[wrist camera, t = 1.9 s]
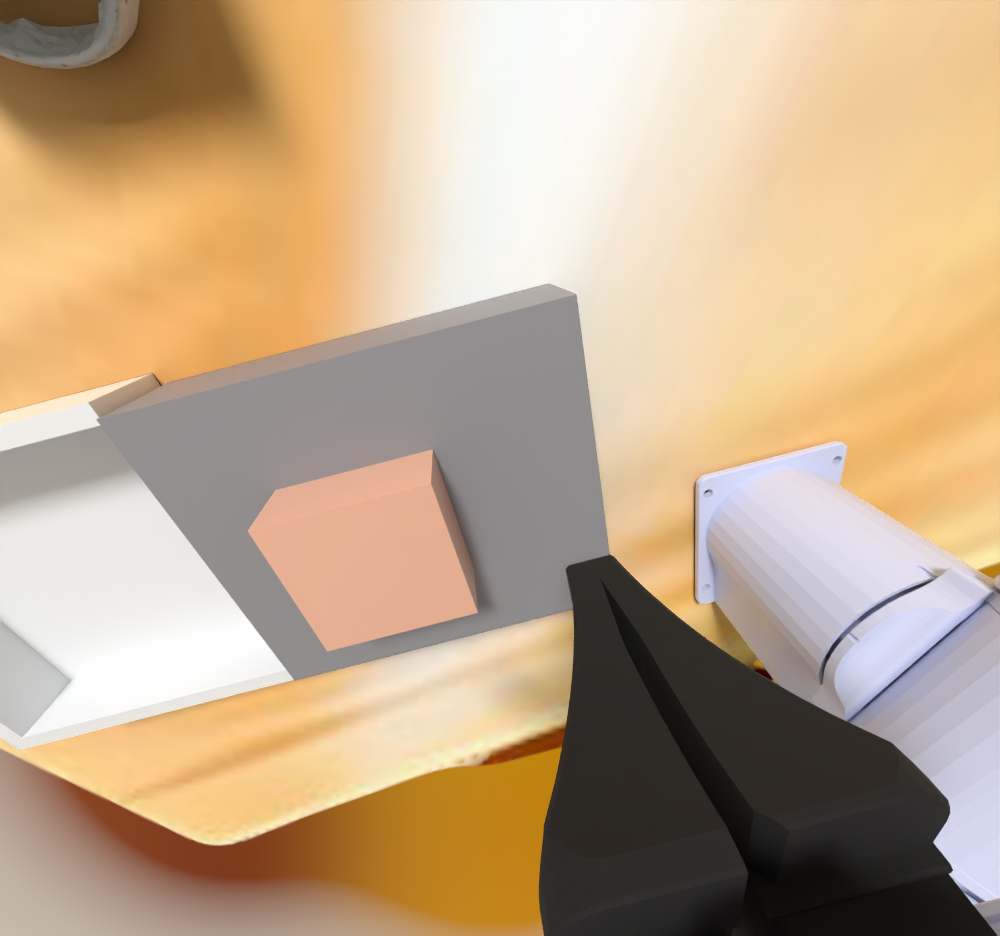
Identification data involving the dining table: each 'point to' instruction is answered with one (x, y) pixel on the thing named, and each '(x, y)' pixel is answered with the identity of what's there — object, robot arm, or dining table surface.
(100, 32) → the ceramic mug
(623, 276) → the dining table surface
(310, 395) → the board
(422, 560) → the terracotta tile
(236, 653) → the bin
